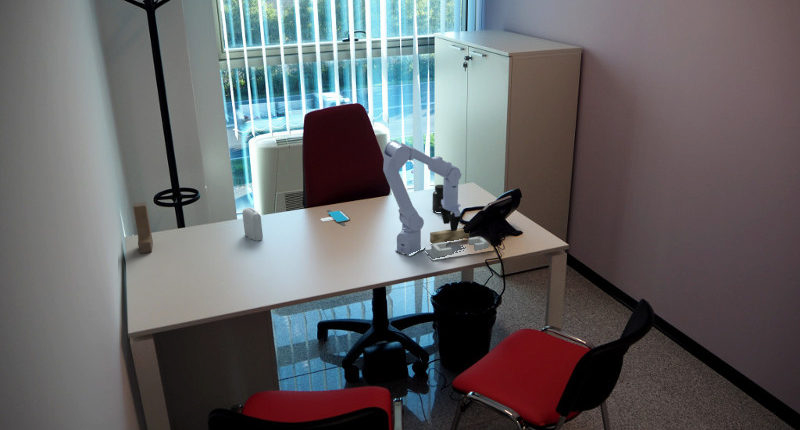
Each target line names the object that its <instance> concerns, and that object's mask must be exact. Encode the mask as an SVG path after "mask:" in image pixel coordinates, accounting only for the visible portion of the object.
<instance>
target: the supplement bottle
mask: <svg viewBox="0 0 800 430" xmlns="http://www.w3.org/2000/svg"><path fill="white" fill-rule="evenodd" d="M441 200H443V184H436V185H434V191H433V192H432V203H431V204H432V207H431V208H432V210H433V211H436V212H440V210H439V207H440V206H442V204H441ZM433 211H432V212H433Z"/></svg>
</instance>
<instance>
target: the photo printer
mask: <svg viewBox="0 0 800 430" xmlns="http://www.w3.org/2000/svg"><path fill="white" fill-rule="evenodd" d="M242 220H243V221H242V222H243V230H244V235H246V237H248V238H250V239H251V240H253V241H256V242H259V241H261V240H262V239H263V238H264V237H263V236H264V235H263V234H264V233H263V227H262V226H263V224H262V217H261V214H260V212H259V211H258V210H256V209H254V208H252V207H245V208H244V209H243V210H242Z"/></svg>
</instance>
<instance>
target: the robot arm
mask: <svg viewBox="0 0 800 430" xmlns="http://www.w3.org/2000/svg"><path fill="white" fill-rule="evenodd" d="M413 160H415V161H418V162H420V163H421V164H422V163H423V164H425V165H427V168H428V170H429V171H430V172H433V173H435V174H437V175H438V176H440V177H442V178H443V183H442V185H443V200H441V204H442V206H440V207H439V210H440V212H441V214H440V215H441V218H442V222H443V224H444V225H447V224H450V229H451V231H456V230H457V228H459V223H460V221H461V220H462V218H463V214H462V213H461V211H460V207H461V204H460V203H458V202H459V185H460V184H459V182H460V180H461V178H462V173H461V169H460V168H458V167H457V166H455V165H453V164H452V162H450V161H445V160H444V159H443V157H441V156H439V155H438V156H432V157H430V156H429V155H427V154H425V153H424V152H422V151H420V150H418V149H416V148H414V147H413V146H410V145H408V144H405V143H403V142H399V141H397V140H396V139H395V140H389V142H387V144H386V145H385V147H384V149H383V168H382V171H383V173H384V176H385V178H386V180H387V183H388V185H389V188H390V189H391V192H392V194H393V196H394V199H395V201H396V203H397V206H398V211H397V212H398V213H399V216H398V218H399V222H400V223H402V225H401V230H400V232H399V233H398V234H397V236H396V249H395V250H394V251H395V252H396V251H398V252H397V253H399V252H401V253H400V254H402V253H404V254H403V255H405V254H407V255H406V256H408V255H409V254H411V253H413V252H416V251H418V250H420V249H421V246H422V245H421V244H422V242H421V240H422V233H421V231H422V229H423V227H424V225H425V222H424V218H423V217H421V216H420V215H419V213H418V211H417V210H416V208H415V207H414V205H413V202H412V201H411V198H410V196H409V193H408V191H407V188H406V186H405V184H404V181H403V179H402V177H401V174H400V170H401V169H402V167H404V165H405V164H406V163H407V162H408V161H410V162H411V161H413Z"/></svg>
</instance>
